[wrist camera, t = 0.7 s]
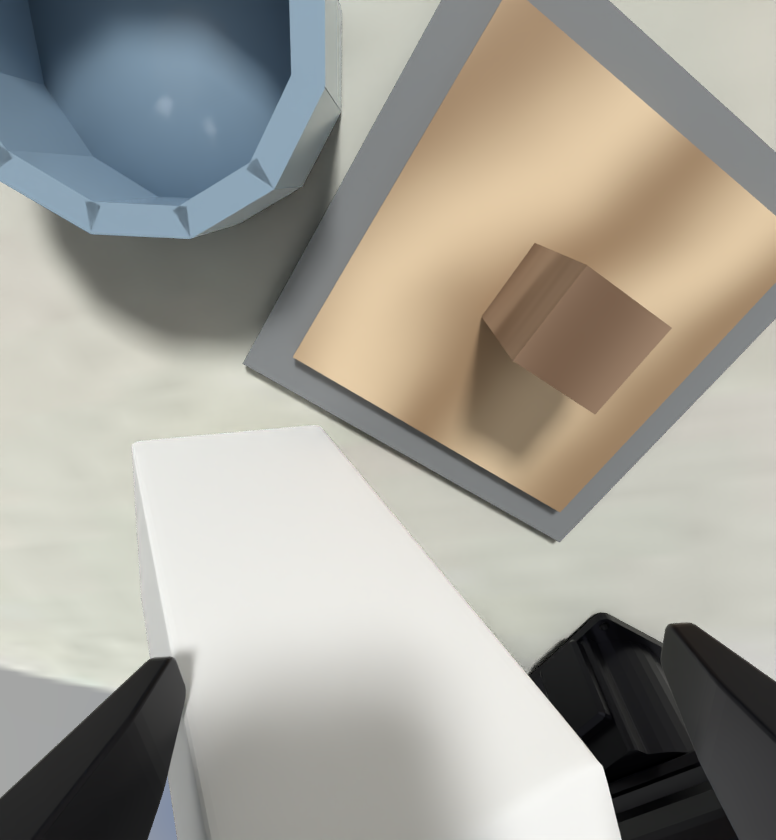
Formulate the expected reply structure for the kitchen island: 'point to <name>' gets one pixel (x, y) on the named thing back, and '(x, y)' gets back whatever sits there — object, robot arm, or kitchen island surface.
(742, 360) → the kitchen island surface
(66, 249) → the kitchen island surface
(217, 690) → the milk carton
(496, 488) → the rubber mat
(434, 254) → the oak lid
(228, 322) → the kitchen island surface
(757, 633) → the kitchen island surface
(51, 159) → the ceramic bowl
